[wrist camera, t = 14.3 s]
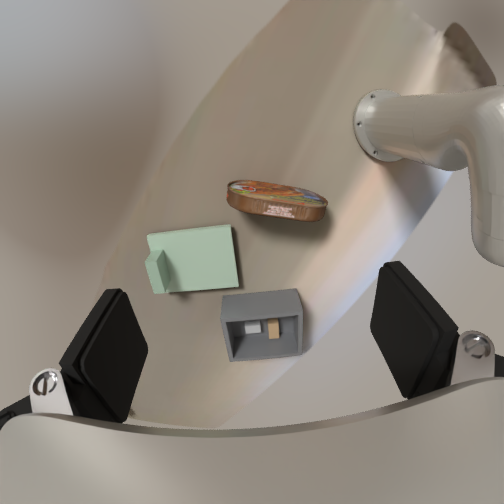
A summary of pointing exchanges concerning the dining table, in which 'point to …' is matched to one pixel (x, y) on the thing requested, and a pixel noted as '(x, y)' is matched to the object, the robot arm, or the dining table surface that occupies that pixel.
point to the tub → (262, 325)
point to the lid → (192, 259)
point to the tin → (276, 200)
